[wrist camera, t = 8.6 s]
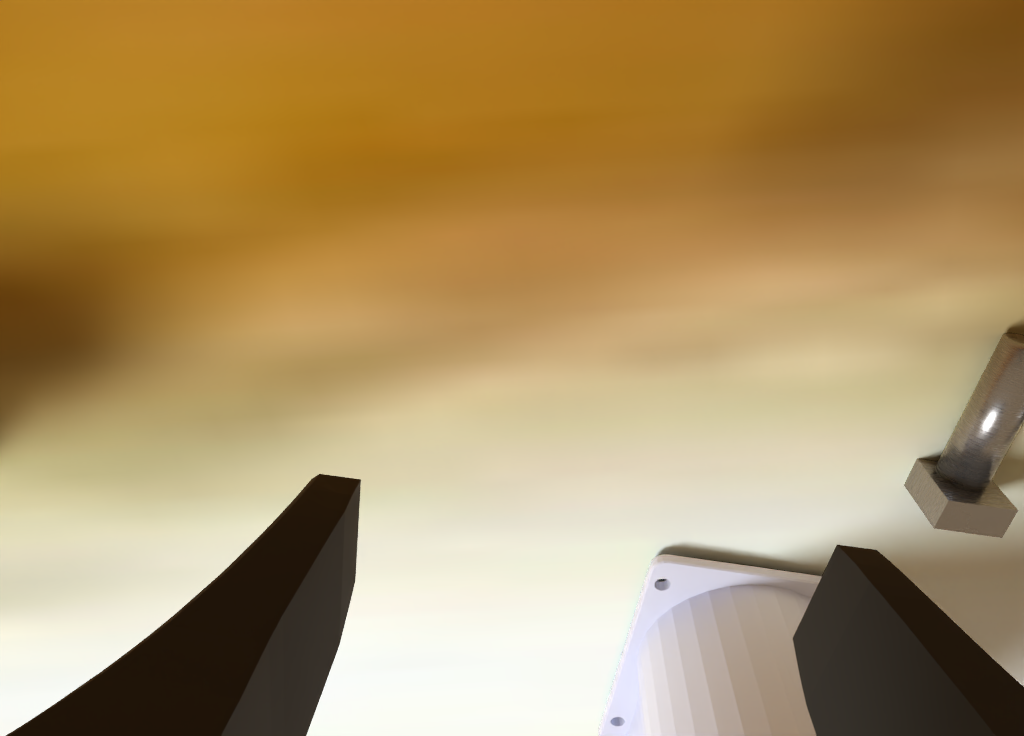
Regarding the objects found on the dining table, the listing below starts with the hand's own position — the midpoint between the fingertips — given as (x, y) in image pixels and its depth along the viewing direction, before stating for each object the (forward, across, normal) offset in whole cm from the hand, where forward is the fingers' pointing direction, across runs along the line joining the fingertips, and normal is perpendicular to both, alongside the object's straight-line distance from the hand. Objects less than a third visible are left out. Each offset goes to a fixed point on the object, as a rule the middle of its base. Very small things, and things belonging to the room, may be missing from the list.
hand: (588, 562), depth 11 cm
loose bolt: (+10, -12, +2) cm, 16 cm away
